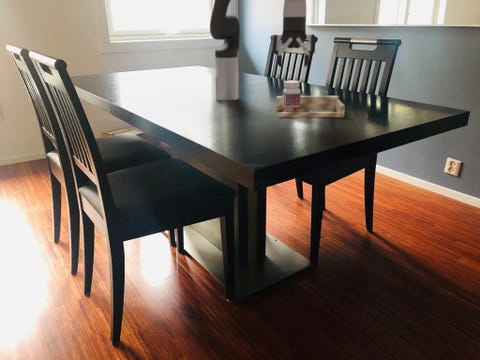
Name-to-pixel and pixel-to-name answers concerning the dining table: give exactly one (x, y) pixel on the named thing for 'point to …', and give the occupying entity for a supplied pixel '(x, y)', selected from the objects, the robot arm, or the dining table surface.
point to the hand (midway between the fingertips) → (292, 66)
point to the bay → (314, 107)
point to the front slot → (320, 110)
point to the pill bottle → (291, 96)
